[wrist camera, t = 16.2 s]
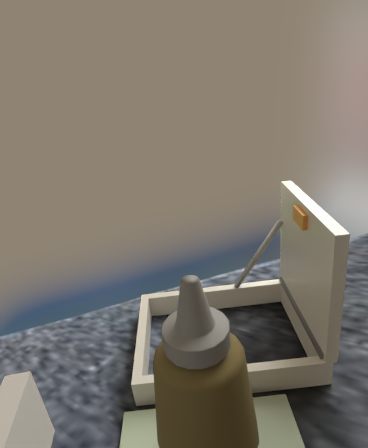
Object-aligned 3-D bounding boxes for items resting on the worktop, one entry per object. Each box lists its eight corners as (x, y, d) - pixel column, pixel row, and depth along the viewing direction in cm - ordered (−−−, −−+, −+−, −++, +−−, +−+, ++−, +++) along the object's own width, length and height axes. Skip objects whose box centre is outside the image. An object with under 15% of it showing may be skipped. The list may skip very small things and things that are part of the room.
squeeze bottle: (275, 505, 26) (274, 309, 19) (167, 527, 25) (123, 334, 18) (244, 409, 33) (236, 242, 26) (160, 425, 33) (127, 258, 25)
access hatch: (288, 296, 49) (290, 180, 42) (335, 383, 35) (349, 233, 28) (145, 312, 49) (123, 199, 42) (136, 406, 36) (102, 262, 29)
